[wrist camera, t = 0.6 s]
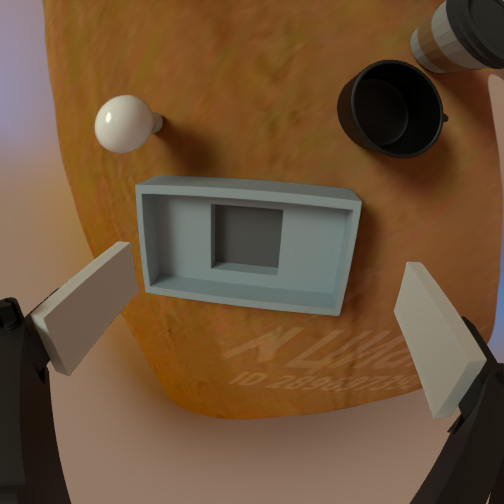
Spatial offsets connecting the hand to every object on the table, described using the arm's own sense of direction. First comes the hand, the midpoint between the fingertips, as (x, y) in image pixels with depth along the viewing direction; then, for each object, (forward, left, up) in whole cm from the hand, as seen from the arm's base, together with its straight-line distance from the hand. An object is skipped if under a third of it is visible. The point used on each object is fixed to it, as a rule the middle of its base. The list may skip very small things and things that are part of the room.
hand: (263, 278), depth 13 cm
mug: (-10, +11, -24) cm, 29 cm away
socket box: (+7, -4, -24) cm, 25 cm away
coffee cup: (-20, +17, -24) cm, 36 cm away
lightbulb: (-7, -17, -24) cm, 30 cm away
